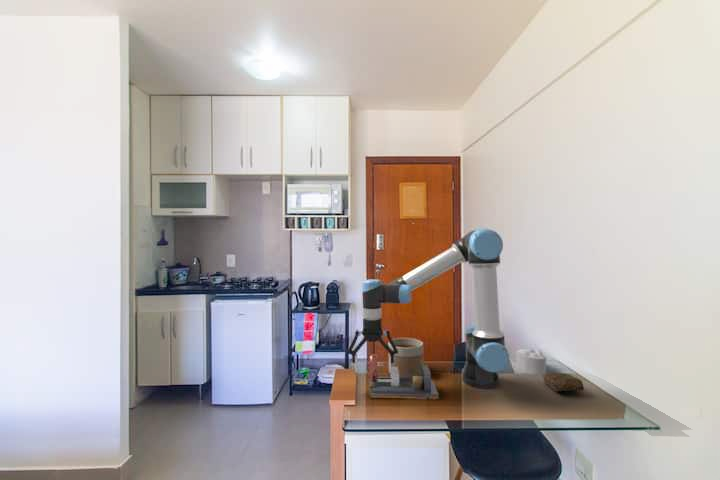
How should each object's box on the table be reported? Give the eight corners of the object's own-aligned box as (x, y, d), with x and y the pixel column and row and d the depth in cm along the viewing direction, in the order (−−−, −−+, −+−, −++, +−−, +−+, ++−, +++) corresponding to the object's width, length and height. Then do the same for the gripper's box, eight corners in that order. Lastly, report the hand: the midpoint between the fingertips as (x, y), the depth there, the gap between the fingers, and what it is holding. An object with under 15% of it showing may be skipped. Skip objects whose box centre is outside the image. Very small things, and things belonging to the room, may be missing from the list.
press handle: (397, 381, 137) (397, 352, 137) (399, 390, 129) (398, 359, 129) (369, 381, 138) (369, 352, 138) (369, 389, 129) (369, 359, 129)
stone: (566, 383, 140) (564, 369, 140) (586, 395, 126) (584, 379, 127) (542, 384, 141) (540, 370, 141) (559, 396, 127) (556, 380, 127)
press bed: (432, 385, 138) (432, 363, 139) (438, 399, 125) (438, 375, 126) (370, 384, 140) (370, 362, 140) (370, 398, 127) (369, 374, 127)
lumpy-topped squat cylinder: (531, 363, 162) (531, 345, 163) (552, 373, 150) (552, 354, 150) (513, 365, 160) (513, 347, 160) (533, 375, 147) (532, 356, 148)
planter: (384, 376, 148) (383, 345, 148) (394, 364, 163) (394, 336, 163) (419, 381, 142) (418, 349, 142) (426, 368, 157) (426, 339, 157)
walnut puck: (422, 384, 134) (422, 375, 134) (423, 388, 130) (423, 379, 130) (412, 384, 134) (412, 375, 135) (413, 388, 130) (413, 379, 131)
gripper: (402, 315, 137) (403, 367, 136) (342, 316, 138) (343, 367, 138) (403, 320, 129) (404, 374, 129) (340, 320, 131) (341, 374, 130)
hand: (373, 371), depth 133 cm, fingers open, 13 cm apart
